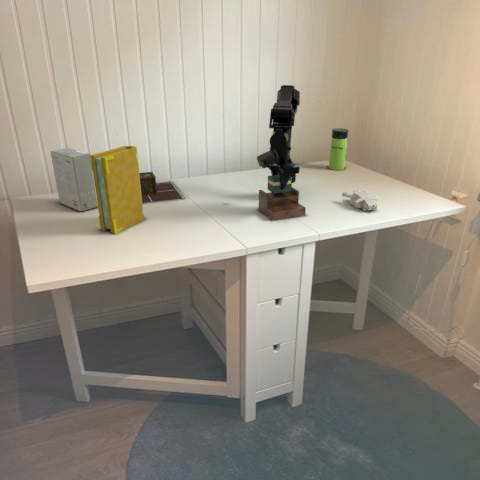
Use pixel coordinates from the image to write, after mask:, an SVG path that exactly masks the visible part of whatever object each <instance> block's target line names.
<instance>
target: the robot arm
mask: <svg viewBox="0 0 480 480" xmlns="http://www.w3.org/2000/svg"><path fill="white" fill-rule="evenodd" d="M300 104H301V91H299V90H298V89H296V87H295V85H293V84H292V85H291V84H282V85H280V88H279V90H277V94H276V102H274V104H273V106H272V108H270V116H269V124H268V128H269V129H272V134H271V135H270V138H269V145H270V146H269V150H268V151H266V152H264V153H262V154H260V155H258V156H256V160H257V163H258V165H259V167H261V168H262V169H266V168H267V169H268V170H269V171H270V173H271V176H272V175H280V186H281V190H284V188H285V187H286V185H287V183H288V181H289V179H290V178H291V187H293V184H294V183H296V179H297V178H296V177H297V174H300V169H301V168H300V166H299V165H298V164H297V163H295V162H293V160H292V158H291V151H292V146H291V145H292V134H293V133H292V132H293V131H292V129H293V127H295V120H296V114H297V112H298V108H299V106H300Z"/></svg>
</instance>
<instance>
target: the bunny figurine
mask: <svg viewBox="0 0 480 480" xmlns="http://www.w3.org/2000/svg"><path fill="white" fill-rule="evenodd" d="M352 191H353V193H350V192H347V191H343V192H342V194H341V196H342V197H345V198H348V199H350V204H351V205H352V206H353V207H354V208H359V209H361V210H362V211H363V212H367V211H372V210H373V211H374V210H377V209H378V204H377V198H376V197H374V196H370V195H369V193H368V192H367V191H364V190H362V191H359V190H358V189H354V190H352Z"/></svg>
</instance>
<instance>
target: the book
mask: <svg viewBox="0 0 480 480" xmlns="http://www.w3.org/2000/svg"><path fill="white" fill-rule="evenodd" d="M138 155H139V154H138V147H137V146H136V145H123V146H118V147H116V148H112V149H108V150H105V151H101V152H96V153H93V154H90V162H91V168H92V172H93V178H94V185H95V192H96V198H97V206H98V207H97V209H98V221H99V228H100V231H103V232H106V231H108V230H110V234H113V235H115V234H118V233H120V232H123V231H124V230H126V229H127V228H129V227H132V226H133V225H136V224H139V223H141V222H143V221H144V220H145V215H144V205H143V204H144V203H142V194H141V185H140V175H139V173H140V165H139V156H138Z"/></svg>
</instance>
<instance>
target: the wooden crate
mask: <svg viewBox="0 0 480 480" xmlns="http://www.w3.org/2000/svg"><path fill="white" fill-rule="evenodd" d="M139 175H140V185H141V194H142V197H144V196H154V195H157V194H158V189H157V183H158V182H157V179H156V177H157V176H156V175H155V174H154V172H153V171H146V172H139Z"/></svg>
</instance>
